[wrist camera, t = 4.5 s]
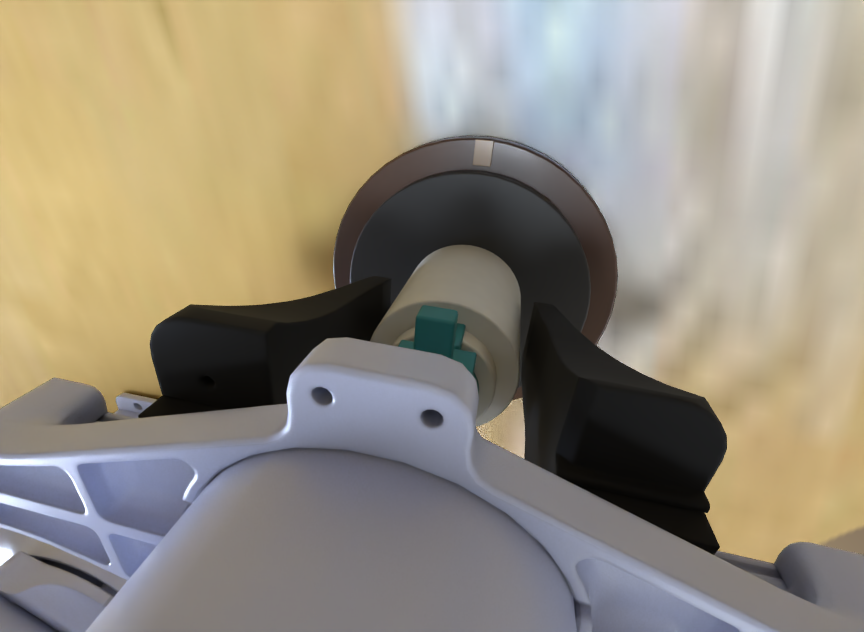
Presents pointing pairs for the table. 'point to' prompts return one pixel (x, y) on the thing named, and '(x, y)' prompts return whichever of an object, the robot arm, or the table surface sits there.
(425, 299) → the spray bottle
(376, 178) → the turntable base
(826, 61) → the table surface
